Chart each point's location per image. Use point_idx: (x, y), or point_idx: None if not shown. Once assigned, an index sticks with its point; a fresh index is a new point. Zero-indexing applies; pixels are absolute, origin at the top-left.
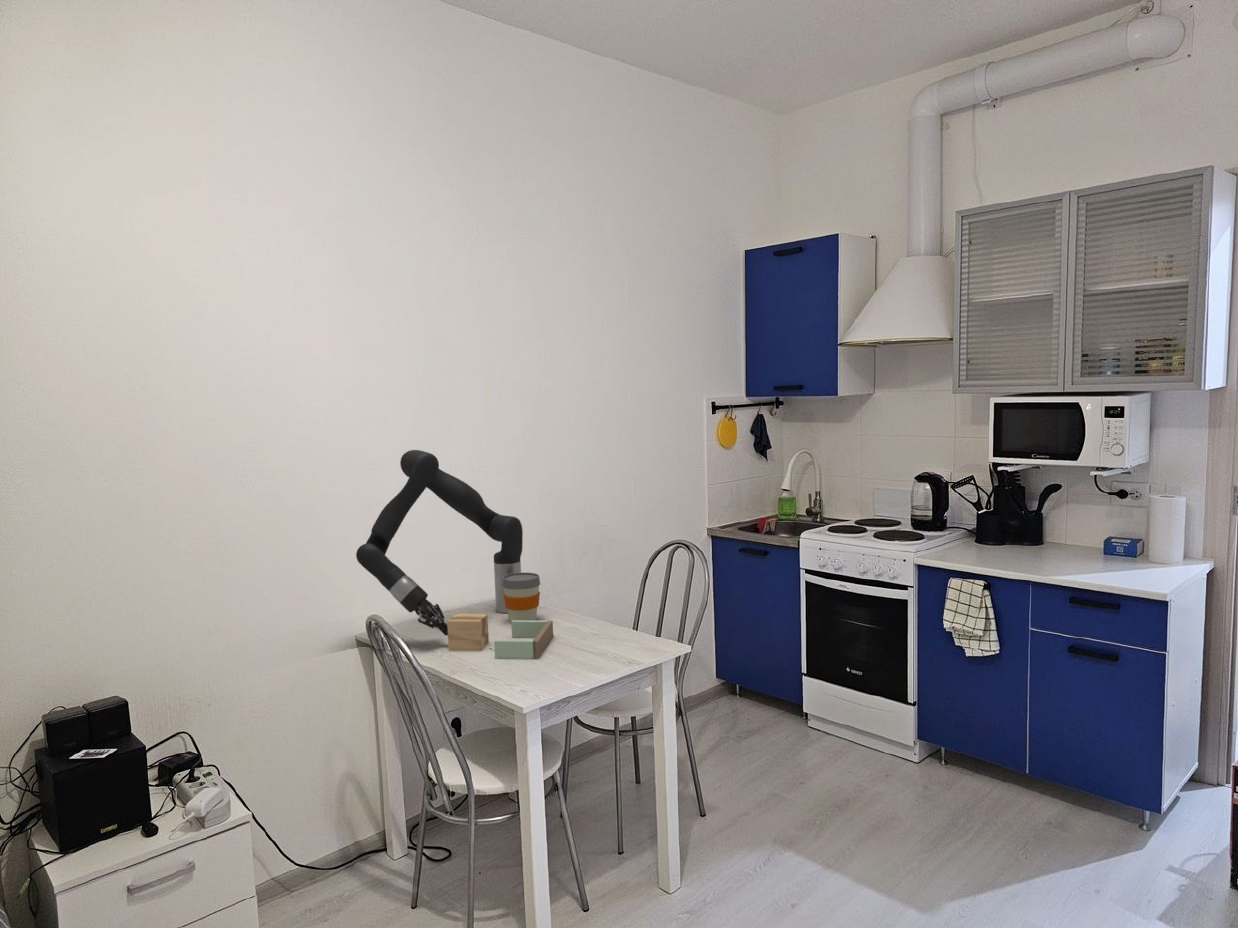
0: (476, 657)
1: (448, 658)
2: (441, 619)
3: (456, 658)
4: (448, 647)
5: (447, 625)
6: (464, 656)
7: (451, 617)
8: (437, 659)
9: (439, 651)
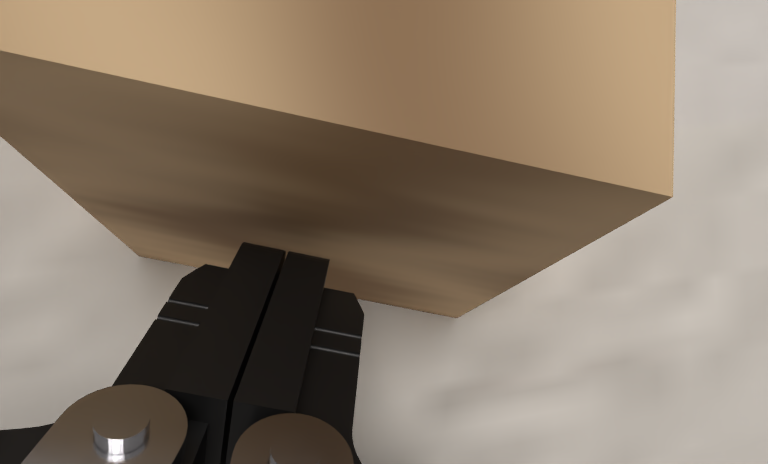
0: (683, 31)
1: (721, 280)
2: (172, 457)
3: (717, 201)
4: (466, 312)
5: (604, 231)
6: None
7: (311, 115)
8: (758, 396)
9: (490, 424)
